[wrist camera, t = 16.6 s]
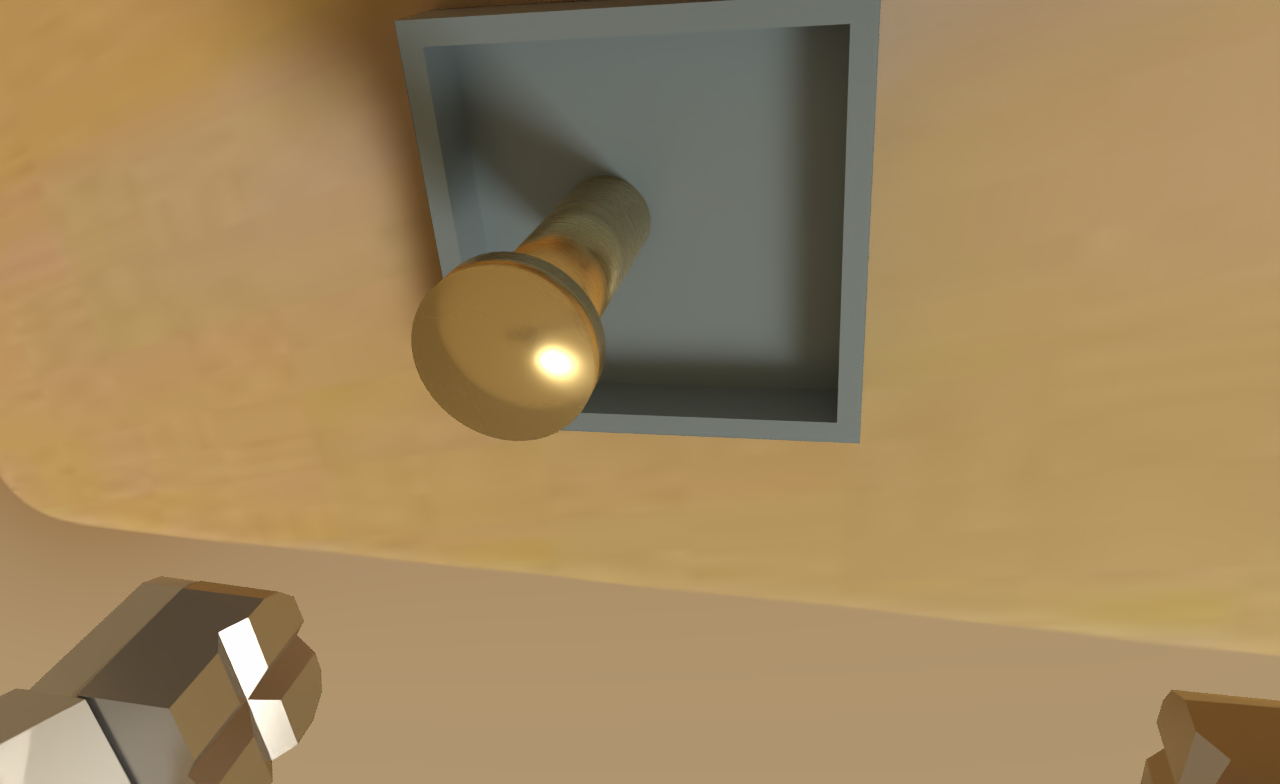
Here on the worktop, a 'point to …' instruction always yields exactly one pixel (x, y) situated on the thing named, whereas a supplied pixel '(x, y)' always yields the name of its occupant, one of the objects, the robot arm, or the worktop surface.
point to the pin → (531, 316)
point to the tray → (675, 189)
